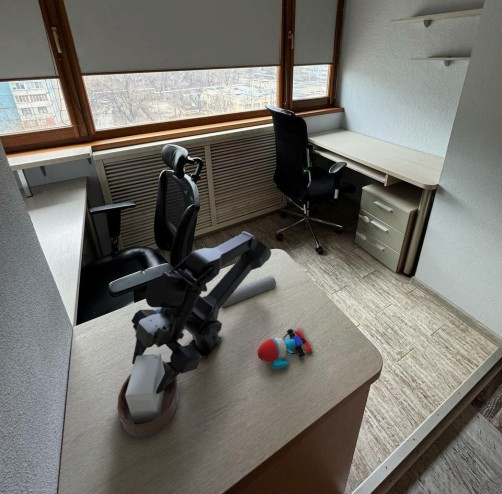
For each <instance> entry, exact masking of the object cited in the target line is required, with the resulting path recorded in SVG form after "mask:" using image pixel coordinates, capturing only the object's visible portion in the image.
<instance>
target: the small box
mask: <svg viewBox="0 0 502 494" xmlns="http://www.w3.org/2000/svg"><path fill="white" fill-rule="evenodd" d="M162 361H163V358H162V353H151V354H143V355H140V356H136V359H135V363H134V364H133V366H132V370H131V373H130V374H131V377H130V381H129V384H128V388H127V391H126V395H125V397H126V400H127V403H128V406H129V409H130V413H131V416H132V419H133V422H134V423H142V422H149V421H151V420H154V419H155V418H156V417H157V416H159V415H160V413H161V407H162V401H163V395H164V390H163V391H162V392H161V393H159V394H157V393H156V391H157V388H158V386H159V384H160V382H161V380H162V378H163V376H164V374H165V371H164V367H163V362H162Z"/></svg>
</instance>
